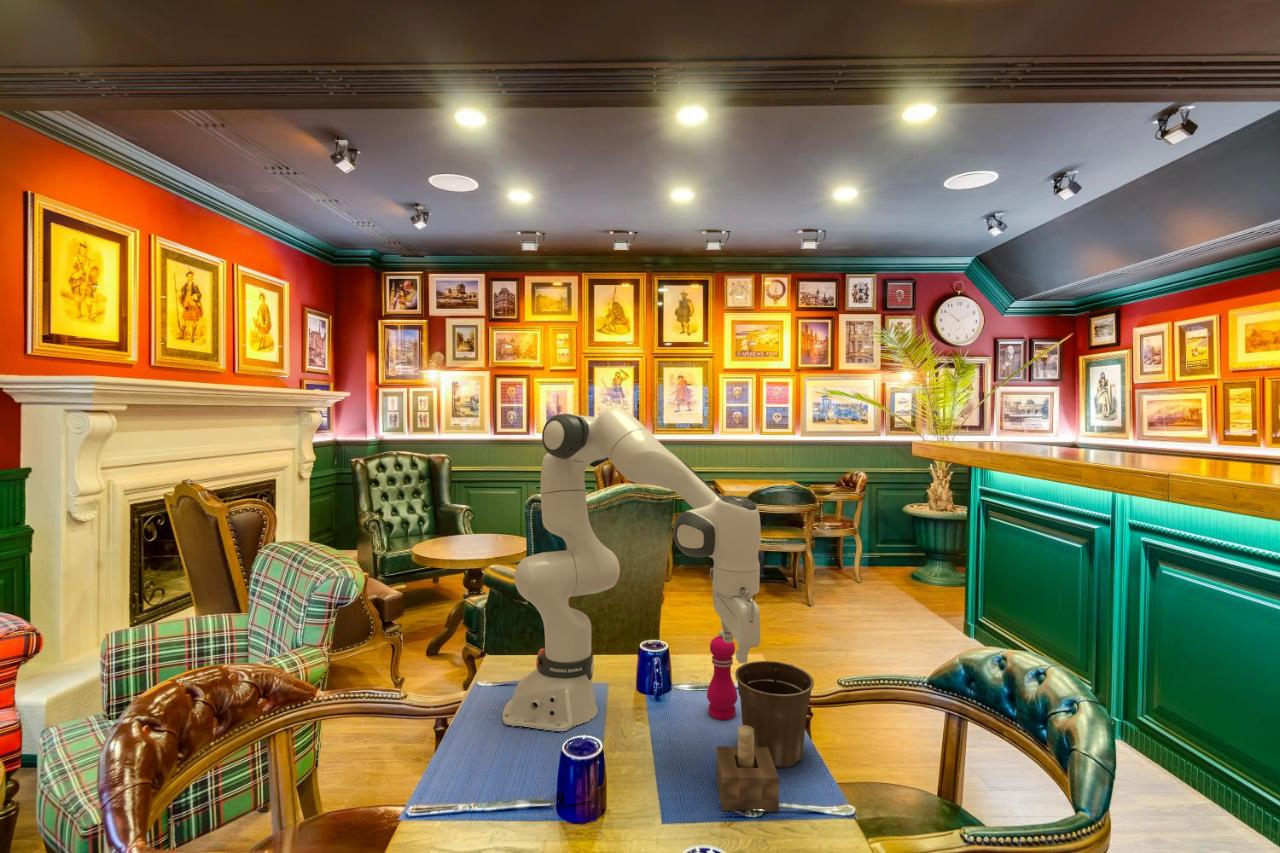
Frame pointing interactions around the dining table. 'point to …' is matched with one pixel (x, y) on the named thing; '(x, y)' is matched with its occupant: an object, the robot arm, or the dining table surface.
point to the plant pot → (775, 707)
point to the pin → (745, 746)
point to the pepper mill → (722, 680)
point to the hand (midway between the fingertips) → (734, 651)
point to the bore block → (747, 781)
